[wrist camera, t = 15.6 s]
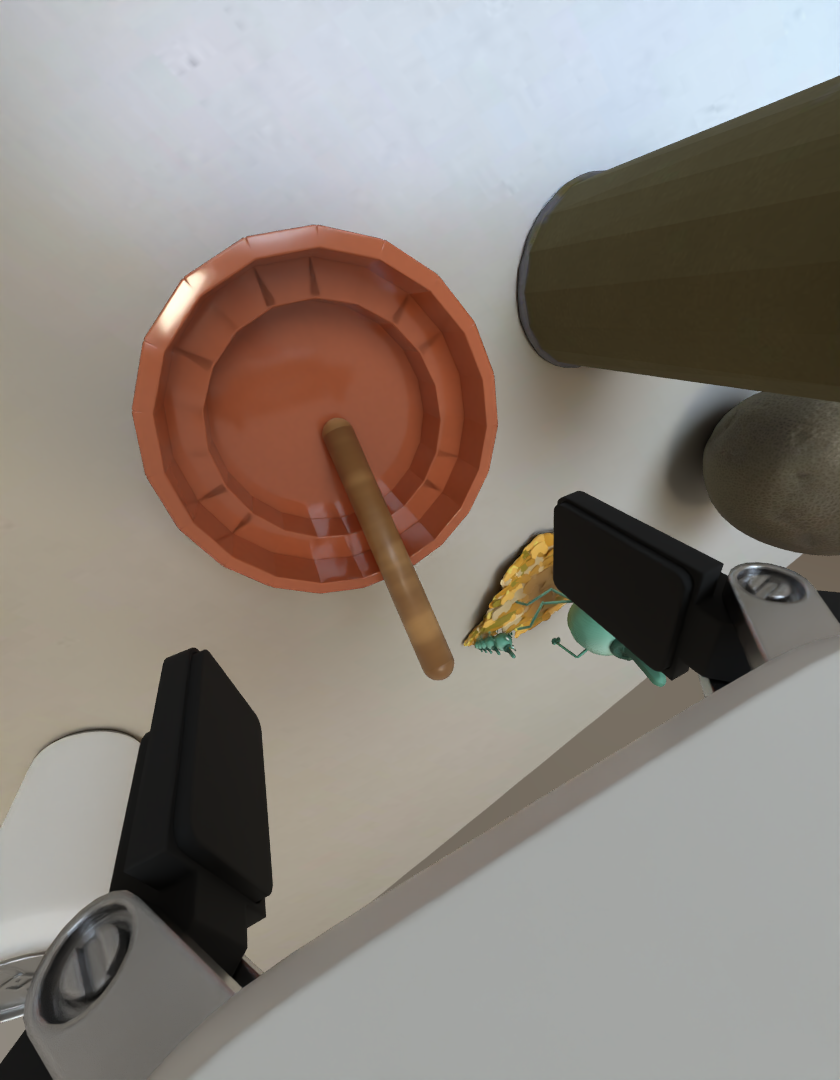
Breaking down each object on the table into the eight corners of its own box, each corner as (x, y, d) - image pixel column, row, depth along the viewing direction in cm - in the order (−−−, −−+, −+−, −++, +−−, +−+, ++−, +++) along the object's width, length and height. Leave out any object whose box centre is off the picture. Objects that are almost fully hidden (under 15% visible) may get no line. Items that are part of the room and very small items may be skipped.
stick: (322, 413, 21) (440, 687, 20) (351, 409, 22) (465, 670, 21) (313, 430, 23) (423, 685, 22) (341, 425, 24) (447, 670, 23)
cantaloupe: (784, 335, 35) (1076, 344, 23) (753, 473, 43) (957, 534, 31) (659, 398, 33) (907, 446, 20) (652, 530, 41) (827, 620, 29)
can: (93, 712, 26) (8, 941, 17) (168, 749, 30) (135, 953, 20) (5, 768, 26) (-135, 1039, 16) (92, 799, 30) (21, 1033, 20)
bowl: (82, 287, 17) (19, 274, 12) (424, 223, 21) (482, 194, 16) (243, 576, 26) (244, 636, 21) (462, 496, 30) (506, 531, 25)
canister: (556, 399, 29) (963, 502, 13) (486, 262, 23) (1103, 124, 7) (668, 289, 28) (1249, 251, 12) (627, 117, 22) (1709, -440, 6)
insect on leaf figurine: (430, 599, 33) (560, 735, 21) (582, 480, 36) (769, 542, 24) (468, 659, 39) (588, 794, 27) (597, 552, 42) (756, 630, 30)
